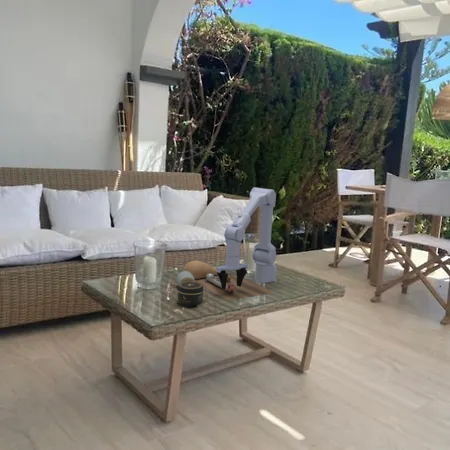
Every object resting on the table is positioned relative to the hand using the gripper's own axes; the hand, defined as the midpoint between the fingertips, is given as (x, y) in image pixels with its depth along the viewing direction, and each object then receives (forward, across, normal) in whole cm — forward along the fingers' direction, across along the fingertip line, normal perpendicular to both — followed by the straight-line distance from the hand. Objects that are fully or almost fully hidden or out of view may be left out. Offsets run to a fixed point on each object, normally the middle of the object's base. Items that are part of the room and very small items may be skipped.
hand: (231, 287), depth 204 cm
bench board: (+4, -6, -7) cm, 10 cm away
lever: (+2, -1, -9) cm, 9 cm away
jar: (+4, +20, +2) cm, 21 cm away
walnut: (+3, -8, -15) cm, 17 cm away
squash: (+4, -3, -27) cm, 27 cm away
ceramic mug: (+4, +13, -13) cm, 19 cm away
